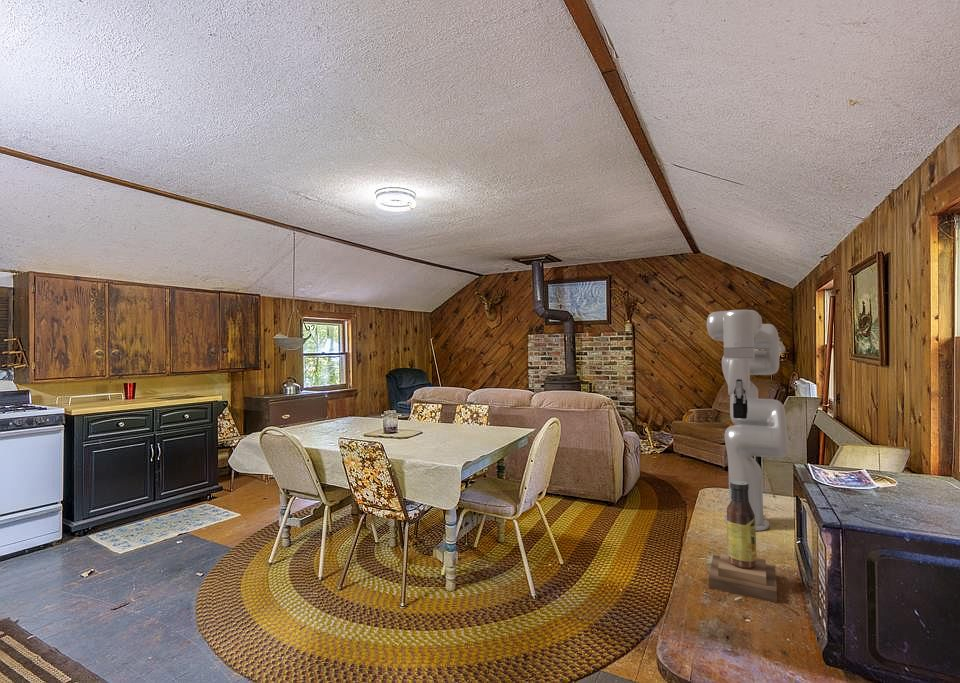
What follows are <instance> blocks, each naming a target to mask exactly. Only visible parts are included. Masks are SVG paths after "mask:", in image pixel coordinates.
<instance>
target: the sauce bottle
mask: <svg viewBox="0 0 960 683" xmlns="http://www.w3.org/2000/svg"><path fill="white" fill-rule="evenodd" d="M730 488H731V499H732V501H731V502H730V504H728V505H727V508H726V515H727V523H726V536H727V537H726V538H727V539H726V540H727V553H728V555H729V562H730V563H731V564H733V565H735V566H737V567H741V568H753V567H755V565H756V559H757V558H758V556H757V533H756V532H757V531H756V529H755V528H756V527H755V515H754V513H753V510H752V508H751V505H750V503H749V498H748V489H749V484H748V483H747V482H744V481H731V482H730Z"/></svg>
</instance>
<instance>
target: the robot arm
mask: <svg viewBox="0 0 960 683" xmlns="http://www.w3.org/2000/svg"><path fill="white" fill-rule="evenodd" d="M706 318H707V319H706V329H707V330H706V331H707V333H708V335H709V337H710V338H711V339H712V340H714V341H719V342H723V356H722V358H721V369H722V373H723V377H724V379H725V382H726V384H727V392H728V393H727V395H728V396H730V397H729V413H730V414H729V417H730V420H731V422H732V424H733V425H730V426H728V427H727V428H726V429H725V431H724V435H723V436H724V437H723V438H724V443H725V444H724V445H725V448H726V454H727V455H726V456H727V464H728V466H727V467H728V472H727V473H728V495H729V496H728V501H729V504H730V502H731V501H732V499H731V488H730V482H731V481H744V482H747V483H748V484H749V489H748V498H749V503H750V505H751V508H752V510H753V513H754V515H755V527H756V528H755V529H756V532H759V531H760V532H761V531H765V530H767V529H769V528H770V522H769V521H768V520H767V519H765V518H764V490H763V489H764V488H763V471H762V467H761V465H760V464H759V463H758V462H757V461H756V460H755V459H754V458H753V457H761V458H762V457H764V458H774V459H775V458H784V457H785V456H787V453H788V451H789V438H788V427H787V426H788V425H787V415H786V410H785V406H784V404H783V403H782V402H781V401H780V400H777V399H773V398H759V389H758V387H757V386H756V385H755V384H754V383H753V382H752V381H751V376H771V375H776V373H778V371H779V368H780V339H779V333H778V329H777V328H776V327H775V325H774V324H771V323H763V319H762V316H761V315H760V314H759V312H758V311H756V310H754V309H731V310H720V311H713V312H711V313H710V314H708V316H707V317H706ZM729 504H728V505H729ZM724 522H725V523H726V524H727V514H726V515H724Z"/></svg>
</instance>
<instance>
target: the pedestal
mask: <svg viewBox="0 0 960 683" xmlns="http://www.w3.org/2000/svg"><path fill="white" fill-rule="evenodd" d="M776 575H777V573H776V566H775V565H773V564H768V563H766V559H765V558H759V557H757V559H756V565H755V567H753V568H741V567H737V566H735V565H733V564H731V563H730V562H729V555H728V552H724V551H720V555H718V554H717V555H715V554H713V555H712V560H711V565H710V570H709V575H708V589H710V588H711V589H712V590H715V589H717V590H716V591H719V590H721V591H720V592H724V593H725V592H726V593H731V594H733V595H734V594H735V595H740V596H744V597H749V598H752V599H757V600H758V599H759V600H763V601H767V602H772V603H778V594H777V593H778V592H777V591H778V590H777V576H776Z"/></svg>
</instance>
